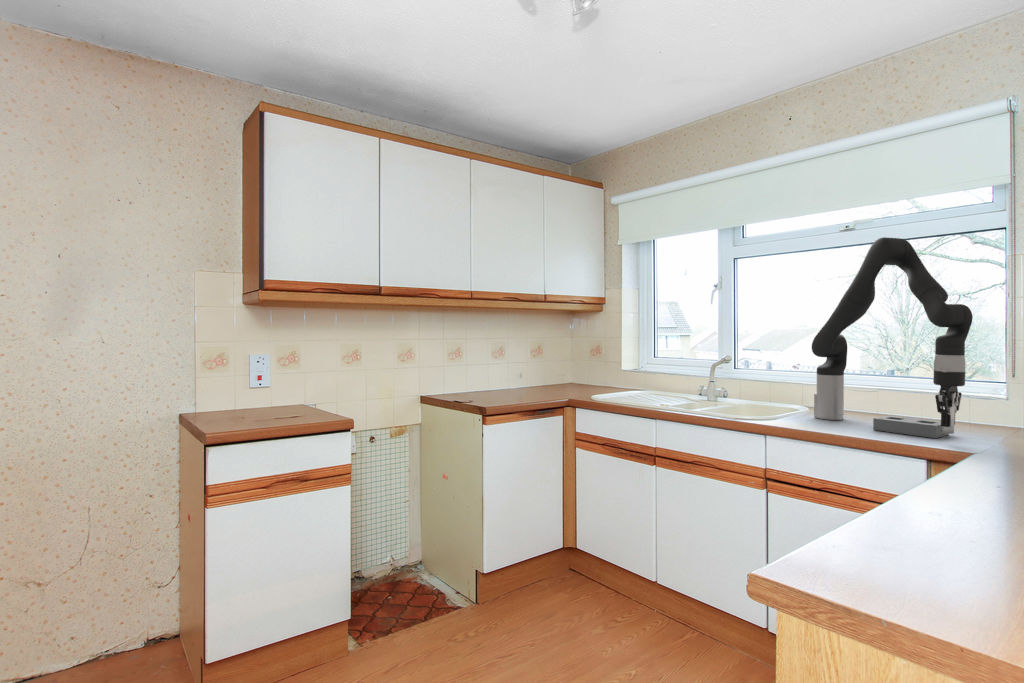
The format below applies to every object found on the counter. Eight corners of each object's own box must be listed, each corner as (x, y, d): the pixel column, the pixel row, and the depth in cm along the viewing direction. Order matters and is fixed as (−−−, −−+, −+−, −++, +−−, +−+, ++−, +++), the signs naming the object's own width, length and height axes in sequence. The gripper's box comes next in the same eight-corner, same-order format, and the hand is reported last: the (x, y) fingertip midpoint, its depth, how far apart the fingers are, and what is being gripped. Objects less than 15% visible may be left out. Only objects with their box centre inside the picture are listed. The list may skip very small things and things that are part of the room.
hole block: (873, 429, 188) (873, 418, 188) (887, 426, 194) (887, 415, 194) (935, 438, 173) (936, 425, 173) (949, 434, 179) (949, 422, 179)
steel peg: (939, 432, 166) (940, 403, 166) (943, 431, 168) (944, 402, 168) (951, 434, 164) (952, 404, 164) (955, 432, 165) (956, 403, 165)
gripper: (943, 367, 172) (941, 421, 173) (925, 370, 164) (923, 426, 165) (973, 369, 166) (971, 425, 167) (955, 371, 158) (954, 430, 159)
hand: (947, 425), depth 166 cm, fingers closed on steel peg, 3 cm apart
